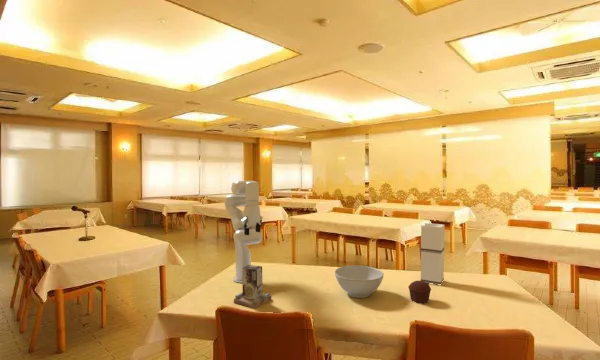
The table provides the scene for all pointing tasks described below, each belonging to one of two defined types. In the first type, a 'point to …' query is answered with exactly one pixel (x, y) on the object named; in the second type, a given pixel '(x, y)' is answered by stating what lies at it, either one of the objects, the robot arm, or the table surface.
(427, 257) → the mini fridge
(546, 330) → the table surface
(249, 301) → the stand
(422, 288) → the muffin
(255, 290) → the coffee box
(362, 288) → the decorative bowl
